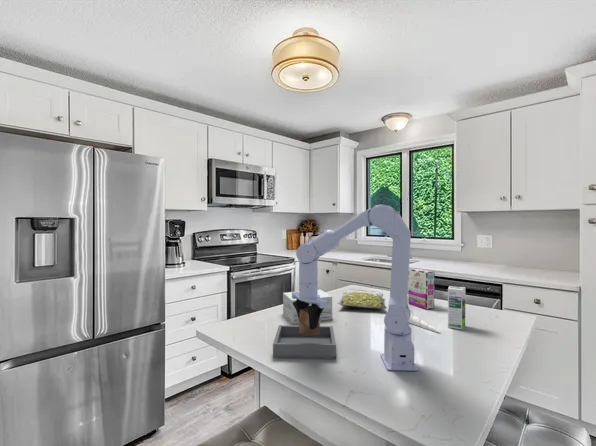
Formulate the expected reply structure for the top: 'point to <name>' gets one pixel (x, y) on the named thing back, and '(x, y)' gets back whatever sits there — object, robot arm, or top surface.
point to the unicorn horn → (421, 323)
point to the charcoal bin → (304, 343)
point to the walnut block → (307, 324)
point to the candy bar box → (421, 288)
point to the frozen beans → (362, 299)
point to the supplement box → (292, 314)
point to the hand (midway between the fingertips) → (308, 326)
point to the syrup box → (456, 307)
